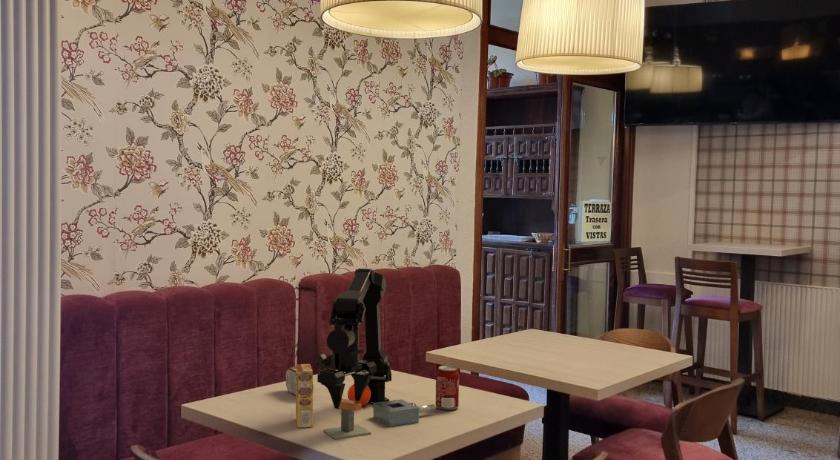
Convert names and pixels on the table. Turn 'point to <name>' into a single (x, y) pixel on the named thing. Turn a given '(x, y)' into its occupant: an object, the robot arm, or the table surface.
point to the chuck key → (348, 414)
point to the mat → (339, 434)
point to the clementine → (365, 396)
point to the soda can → (447, 388)
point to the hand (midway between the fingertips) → (347, 404)
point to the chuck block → (399, 412)
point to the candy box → (304, 395)
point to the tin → (291, 380)
